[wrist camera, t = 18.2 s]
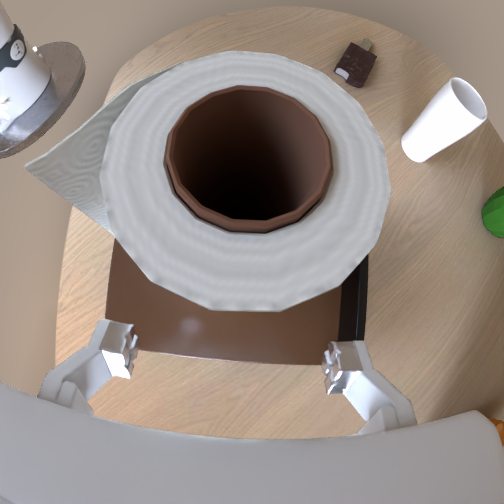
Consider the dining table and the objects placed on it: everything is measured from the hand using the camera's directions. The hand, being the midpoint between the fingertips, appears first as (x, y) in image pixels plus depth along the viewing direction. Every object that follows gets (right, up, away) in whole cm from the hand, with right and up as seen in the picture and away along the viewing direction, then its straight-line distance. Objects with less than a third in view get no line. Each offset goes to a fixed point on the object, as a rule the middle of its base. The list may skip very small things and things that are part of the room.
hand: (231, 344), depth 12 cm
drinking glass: (+26, +20, +28) cm, 43 cm away
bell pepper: (+42, +9, +28) cm, 51 cm away
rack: (-2, +1, +22) cm, 22 cm away
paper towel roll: (-2, +2, +15) cm, 15 cm away
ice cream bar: (+19, +37, +31) cm, 52 cm away
